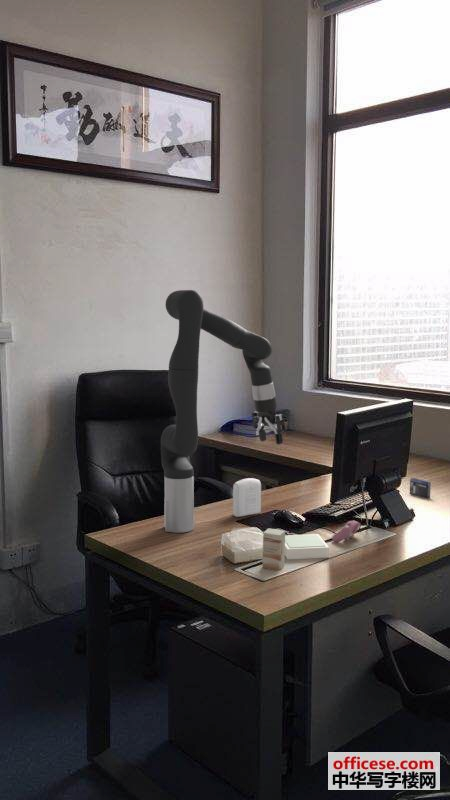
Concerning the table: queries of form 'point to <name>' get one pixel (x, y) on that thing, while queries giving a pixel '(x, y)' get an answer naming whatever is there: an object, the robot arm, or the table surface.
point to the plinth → (305, 547)
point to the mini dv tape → (420, 487)
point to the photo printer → (246, 497)
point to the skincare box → (273, 549)
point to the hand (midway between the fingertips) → (271, 442)
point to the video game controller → (346, 531)
